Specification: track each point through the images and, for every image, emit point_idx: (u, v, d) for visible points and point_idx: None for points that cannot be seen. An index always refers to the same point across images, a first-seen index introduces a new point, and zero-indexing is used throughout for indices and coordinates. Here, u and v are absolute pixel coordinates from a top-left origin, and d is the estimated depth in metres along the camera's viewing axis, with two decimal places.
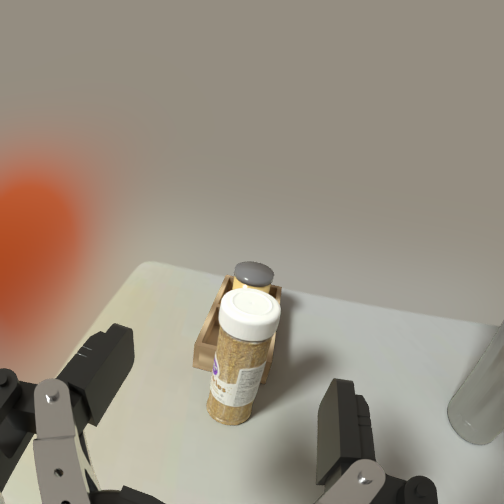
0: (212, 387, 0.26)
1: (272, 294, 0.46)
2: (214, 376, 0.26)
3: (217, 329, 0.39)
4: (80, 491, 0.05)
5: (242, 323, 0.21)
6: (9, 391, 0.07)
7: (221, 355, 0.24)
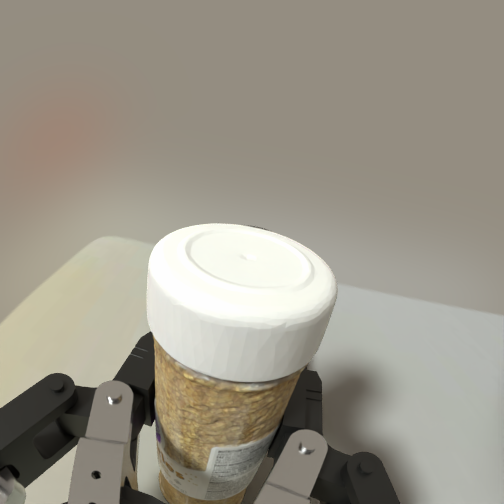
0: (159, 459, 0.10)
1: None
2: (158, 443, 0.10)
3: None
4: (113, 498, 0.05)
5: (210, 319, 0.06)
6: (66, 397, 0.07)
7: (161, 405, 0.08)
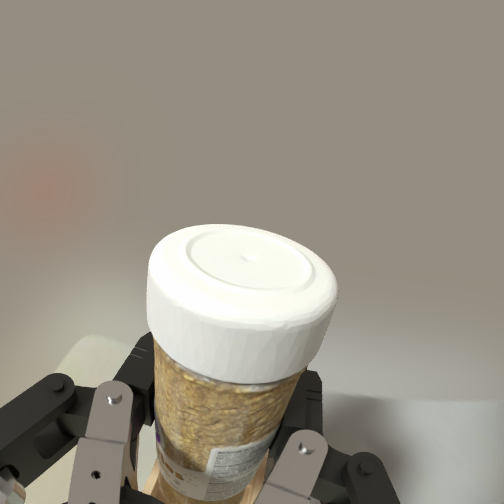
0: (158, 460, 0.10)
1: None
2: (157, 444, 0.10)
3: None
4: (112, 498, 0.05)
5: (211, 321, 0.06)
6: (66, 397, 0.07)
7: (161, 406, 0.08)
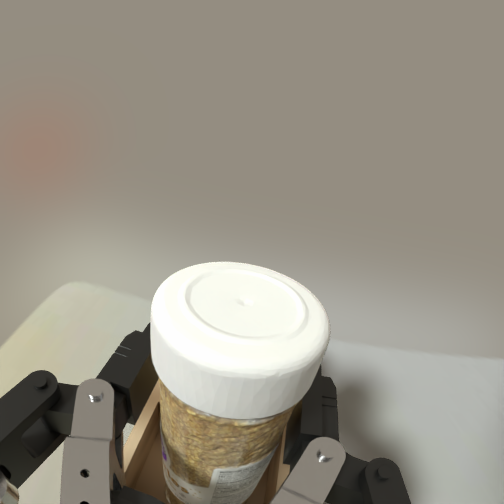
0: (165, 474, 0.11)
1: None
2: (164, 460, 0.10)
3: None
4: (103, 495, 0.05)
5: (210, 371, 0.06)
6: (49, 393, 0.07)
7: (166, 431, 0.08)
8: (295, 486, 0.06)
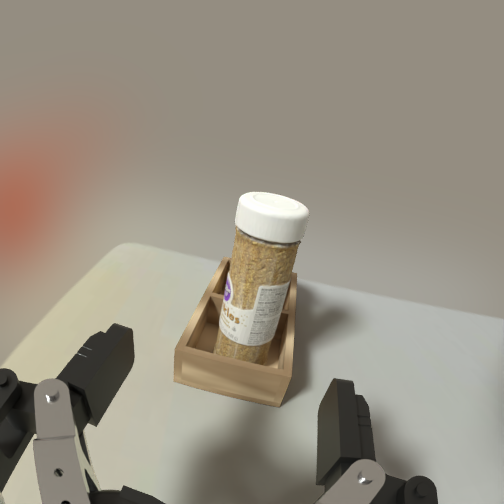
0: (222, 321, 0.23)
1: None
2: (225, 304, 0.22)
3: (210, 328, 0.28)
4: (80, 491, 0.05)
5: (266, 215, 0.18)
6: (9, 391, 0.07)
7: (236, 269, 0.21)
8: None
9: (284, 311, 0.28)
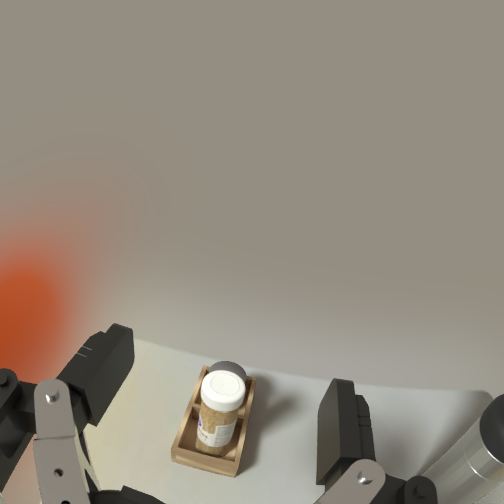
0: (198, 433, 0.33)
1: (247, 384, 0.45)
2: (199, 426, 0.33)
3: (194, 422, 0.39)
4: (80, 491, 0.05)
5: (216, 401, 0.29)
6: (9, 391, 0.07)
7: (203, 415, 0.31)
8: None
9: (241, 416, 0.38)
